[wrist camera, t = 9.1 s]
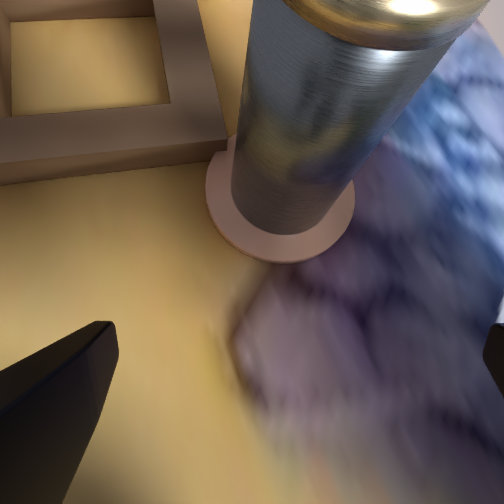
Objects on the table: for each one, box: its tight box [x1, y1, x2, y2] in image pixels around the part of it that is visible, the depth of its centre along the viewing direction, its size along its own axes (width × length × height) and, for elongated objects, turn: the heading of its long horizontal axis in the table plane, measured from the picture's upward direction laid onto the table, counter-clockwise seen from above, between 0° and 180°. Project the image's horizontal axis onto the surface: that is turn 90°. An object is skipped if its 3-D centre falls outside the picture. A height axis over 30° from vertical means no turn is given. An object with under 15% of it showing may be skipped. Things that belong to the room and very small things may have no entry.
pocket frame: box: [0, 0, 228, 185], centre depth 20 cm, size 13×13×2 cm
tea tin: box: [231, 0, 490, 235], centre depth 13 cm, size 6×6×12 cm
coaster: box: [205, 133, 355, 264], centre depth 19 cm, size 8×8×1 cm
